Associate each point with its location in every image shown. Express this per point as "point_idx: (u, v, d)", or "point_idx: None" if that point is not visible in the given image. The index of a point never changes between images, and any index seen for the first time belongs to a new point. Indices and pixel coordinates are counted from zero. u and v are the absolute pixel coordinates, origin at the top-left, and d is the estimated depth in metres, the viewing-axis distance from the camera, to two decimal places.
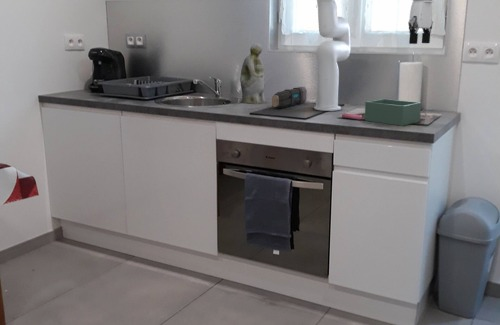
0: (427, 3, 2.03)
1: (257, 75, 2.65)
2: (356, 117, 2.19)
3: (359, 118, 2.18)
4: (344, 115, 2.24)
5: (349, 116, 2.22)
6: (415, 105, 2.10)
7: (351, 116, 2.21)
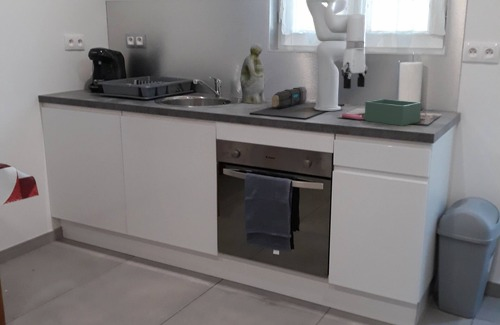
0: (359, 50, 2.13)
1: (257, 75, 2.65)
2: (356, 117, 2.19)
3: (359, 118, 2.18)
4: (344, 115, 2.24)
5: (349, 116, 2.22)
6: (415, 105, 2.10)
7: (351, 116, 2.21)
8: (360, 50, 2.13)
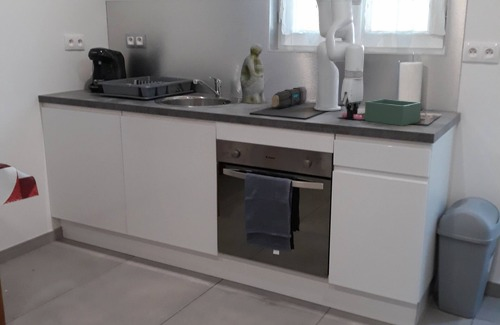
0: (357, 80, 2.16)
1: (257, 75, 2.65)
2: (356, 117, 2.19)
3: (359, 118, 2.18)
4: (344, 115, 2.24)
5: None
6: (415, 105, 2.10)
7: None
8: (358, 80, 2.16)
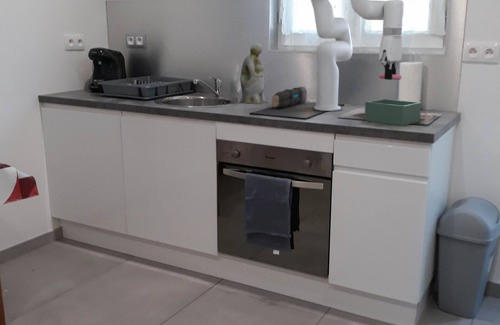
0: (396, 37, 2.06)
1: (257, 75, 2.65)
2: (395, 77, 2.10)
3: (398, 78, 2.09)
4: (382, 76, 2.14)
5: None
6: (415, 105, 2.10)
7: None
8: (397, 37, 2.07)
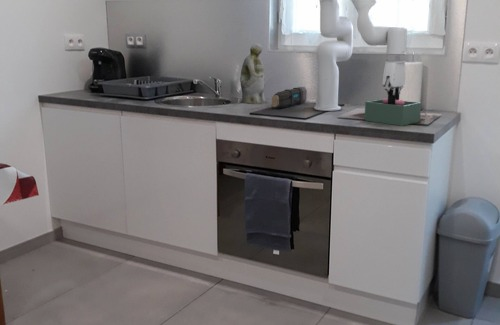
0: (400, 63, 2.08)
1: (257, 75, 2.65)
2: (398, 102, 2.12)
3: (401, 103, 2.11)
4: (385, 101, 2.16)
5: None
6: (415, 105, 2.10)
7: None
8: (401, 63, 2.09)
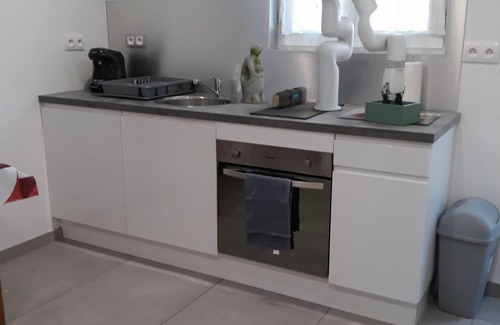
0: (399, 70, 2.09)
1: (257, 75, 2.65)
2: None
3: None
4: None
5: None
6: (415, 105, 2.10)
7: None
8: (400, 70, 2.09)
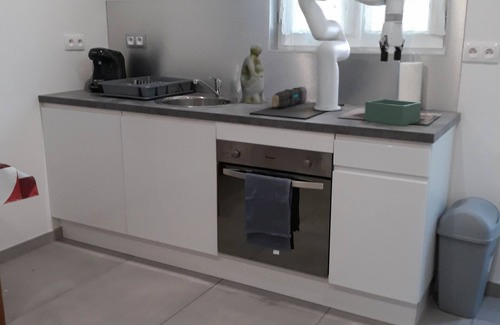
0: (398, 23, 2.14)
1: (257, 75, 2.65)
2: None
3: None
4: None
5: None
6: (415, 105, 2.10)
7: None
8: (398, 23, 2.15)
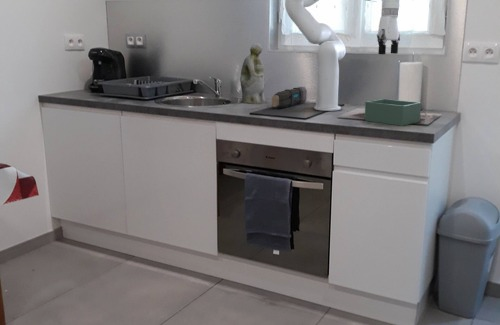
0: (394, 17, 2.23)
1: (257, 75, 2.65)
2: None
3: None
4: None
5: None
6: (415, 105, 2.10)
7: None
8: (395, 17, 2.23)
